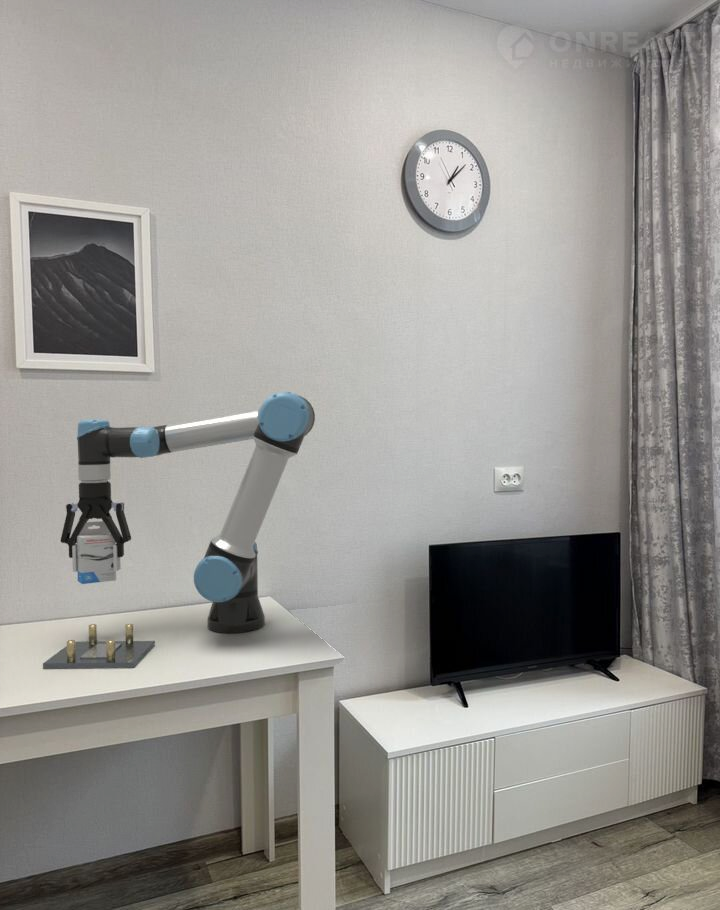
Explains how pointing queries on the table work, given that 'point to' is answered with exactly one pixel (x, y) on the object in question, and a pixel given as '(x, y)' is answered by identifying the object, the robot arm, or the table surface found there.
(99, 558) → the ink box
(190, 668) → the table surface
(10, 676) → the table surface
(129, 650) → the plate
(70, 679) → the table surface
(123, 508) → the robot arm
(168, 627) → the table surface
